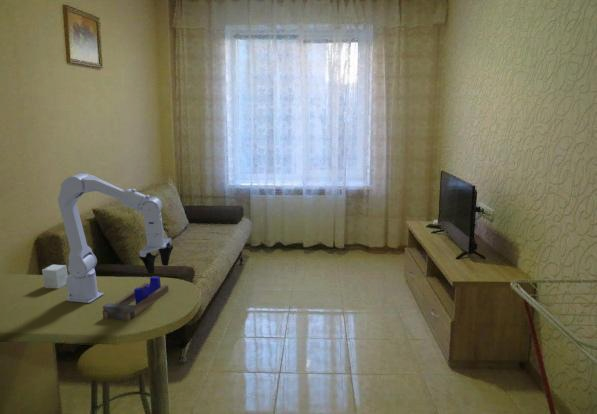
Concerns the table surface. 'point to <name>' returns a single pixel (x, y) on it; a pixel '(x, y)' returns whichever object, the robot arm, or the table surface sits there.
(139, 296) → the cable clip
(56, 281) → the skincare box
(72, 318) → the table surface
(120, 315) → the cable track
